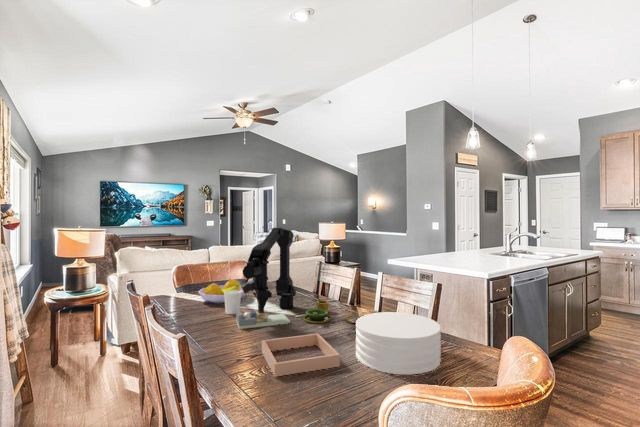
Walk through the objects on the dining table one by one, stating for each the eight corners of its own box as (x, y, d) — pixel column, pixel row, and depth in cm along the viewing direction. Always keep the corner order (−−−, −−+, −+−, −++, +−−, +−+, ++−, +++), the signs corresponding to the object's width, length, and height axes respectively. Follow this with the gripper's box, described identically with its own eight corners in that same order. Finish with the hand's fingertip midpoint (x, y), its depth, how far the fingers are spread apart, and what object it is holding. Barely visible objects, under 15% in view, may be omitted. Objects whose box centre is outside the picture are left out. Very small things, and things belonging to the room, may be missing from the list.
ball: (243, 310, 159) (241, 319, 159) (245, 312, 156) (242, 321, 155) (252, 312, 161) (249, 321, 160) (253, 314, 157) (251, 323, 156)
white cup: (243, 310, 179) (242, 290, 179) (237, 315, 171) (237, 294, 171) (227, 310, 180) (227, 290, 180) (221, 314, 172) (221, 293, 172)
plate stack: (426, 342, 136) (426, 311, 136) (453, 376, 108) (453, 338, 108) (352, 342, 136) (352, 312, 136) (360, 376, 108) (360, 338, 108)
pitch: (283, 315, 169) (283, 304, 169) (290, 323, 158) (289, 310, 158) (235, 320, 162) (235, 308, 162) (239, 329, 151) (239, 315, 151)
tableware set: (291, 317, 168) (291, 304, 168) (337, 308, 185) (337, 295, 185) (350, 343, 135) (350, 326, 135) (399, 328, 152) (399, 314, 152)
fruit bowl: (195, 297, 206) (195, 278, 206) (242, 292, 218) (242, 274, 217) (201, 309, 181) (201, 287, 181) (254, 303, 192) (254, 282, 192)
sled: (265, 316, 164) (265, 298, 163) (267, 320, 158) (267, 302, 158) (251, 318, 161) (250, 300, 161) (253, 322, 156) (253, 303, 156)
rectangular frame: (318, 344, 133) (318, 333, 133) (339, 367, 114) (339, 354, 114) (261, 351, 126) (261, 340, 126) (274, 377, 107) (274, 364, 107)
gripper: (239, 272, 166) (239, 306, 166) (245, 279, 148) (245, 317, 148) (263, 271, 170) (263, 304, 170) (271, 278, 152) (272, 314, 152)
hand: (260, 309), depth 160 cm, fingers closed on sled, 3 cm apart
